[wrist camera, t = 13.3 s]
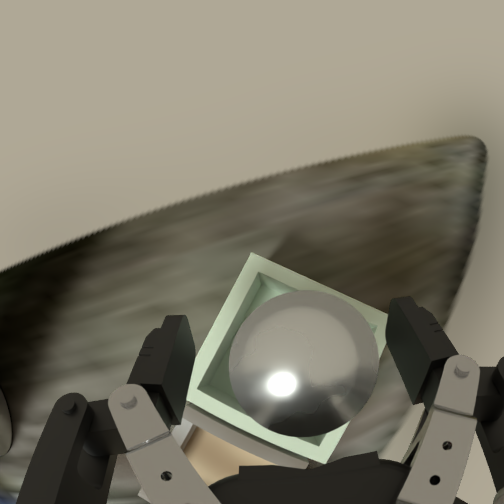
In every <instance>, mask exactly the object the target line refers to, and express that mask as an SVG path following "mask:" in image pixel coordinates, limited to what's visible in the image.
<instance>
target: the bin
mask: <svg viewBox="0 0 504 504" xmlns="http://www.w3.org/2000/svg"><path fill="white" fill-rule="evenodd" d="M300 290H312V291H320V292H324V293H328V294H331V295H334V296H336V297H339V298H340V299H342V300H344V301H346V302H347V303H349V304H350V305H352V306H353V307H354V308H355V309H356V310H357V311H358V312H359V313H360V314H361V315H362V316H363V317H364V319H365V320H366V321H367V323H368V324H369V326H370V328H371V330H372V332H373V334H374V336H375V339H376V343H377V346H378V353H379V359H380V356H381V354H382V352H383V349H384V347H385V344H386V338H385V329H386V324H387V318H388V314H386V313H384V312H382V311H380V310H377V309H375V308H373V307H371V306H369V305H366V304H364V303H362V302H360V301H358V300H355V299H353V298H351V297H349V296H347V295H344V294H342V293H340V292H338V291H336V290H333V289H331V288H329V287H327V286H325V285H322V284H320V283H318V282H316V281H314V280H311V279H309V278H307V277H305V276H303V275H300V274H298V273H296V272H294V271H292V270H289V269H287V268H285V267H283V266H281V265H278V264H276V263H274V262H272V261H270V260H267V259H265V258H263V257H261V256H259V255H256V254H254V253H251V254H250V256H249V258H248V260H247V262H246V264H245V266H244V268H243V270H242V271H241V273H240V275H239V277H238V279H237V281H236V283H235V285H234V287H233V288H232V290H231V292H230V294H229V296H228V298H227V300H226V302H225V304H224V305H223V307H222V309H221V311H220V313H219V315H218V317H217V319H216V321H215V322H214V324H213V326H212V328H211V330H210V332H209V334H208V336H207V338H206V339H205V341H204V343H203V345H202V347H201V349H200V351H199V353H198V355H197V356H196V358H195V362H194V366H193V371H192V375H191V380H190V384H189V389H188V394H187V398H186V400H188V401H190V402H192V403H193V404H195V405H197V406H199V407H200V408H202V409H204V410H206V411H208V412H209V413H211V414H213V415H215V416H217V417H219V418H221V419H223V420H225V421H226V422H228V423H230V424H232V425H234V426H236V427H238V428H240V429H242V430H245V431H247V432H249V433H251V434H253V435H255V436H257V437H259V438H262V439H264V440H266V441H268V442H271V443H273V444H275V445H277V446H280V447H282V448H285V449H287V450H289V451H292V452H294V453H297V454H299V455H302V456H305V457H307V458H310V459H313V460H315V461H318V462H321V463H324V464H326V462H327V460H328V459H329V457H330V455H331V454H332V452H333V450H334V449H335V447H336V445H337V443H338V442H339V440H340V438H341V436H342V434H343V433H344V431H345V429H346V427H347V425H348V423H349V422H350V421H349V422H347V423H346V424H344V425H343V426H341V427H339V428H338V429H335V430H333V431H331V432H329V433H325V434H322V435H318V436H312V437H290V436H285V435H281V434H278V433H275V432H272V431H270V430H268V429H266V428H264V427H263V426H261V425H260V424H258V423H257V422H255V421H254V420H253V419H252V418H251V417H250V416H249V415H248V414H247V413H246V412H245V411H244V409H243V408H242V407H241V405H240V404H239V402H238V400H237V398H236V396H235V394H234V392H233V389H232V386H231V382H230V376H229V356H230V350H231V347H232V343H233V340H234V338H235V336H236V334H237V331H238V330H239V328H240V327H241V325H242V323H243V322H244V321H245V320H246V318H247V317H248V316H249V315H250V314H251V313H252V312H253V311H254V310H255V309H256V308H258V307H259V306H260V305H262V304H263V303H264V302H266V301H268V300H270V299H271V298H274V297H276V296H279V295H281V294H284V293H288V292H293V291H300Z"/></svg>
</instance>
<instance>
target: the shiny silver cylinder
mask: <svg viewBox="0 0 504 504" xmlns="http://www.w3.org/2000/svg"><path fill="white" fill-rule="evenodd" d="M378 370H379V353H378V346H377V343H376V339H375V336H374V334H373V332H372V330H371V328H370V326H369V324H368V323H367V321H366V320H365V319H364V317H363V316H362V315H361V314H360V313H359V312H358V311H357V310H356V309H355V308H354V307H353V306H352V305H350V304H349V303H347V302H346V301H344V300H342V299H340V298H339V297H336V296H334V295H331V294H328V293H324V292H320V291H312V290H300V291H293V292H288V293H284V294H281V295H279V296H276V297H274V298H271V299H270V300H268V301H266V302H264V303H263V304H262V305H260V306H259V307H258V308H256V309H255V310H254V311H253V312H252V313H251V314H250V315H249V316H248V317H247V318H246V320H245V321H244V322H243V323H242V325H241V327H240V328H239V330H238V331H237V334H236V336H235V338H234V340H233V343H232V347H231V350H230V356H229V376H230V382H231V386H232V389H233V392H234V394H235V396H236V398H237V400H238V402H239V404H240V405H241V407H242V408H243V409H244V411H245V412H246V413H247V414H248V415H249V416H250V417H251V418H252V419H253V420H254V421H255V422H257V423H258V424H260V425H261V426H263V427H264V428H266V429H268V430H270V431H272V432H275V433H278V434H281V435H285V436H290V437H312V436H318V435H322V434H325V433H329V432H331V431H333V430H335V429H338V428H339V427H341V426H343V425H344V424H346V423H347V422H349V421H350V420H351V419H352V418H353V417H355V416H356V415H357V414H358V412H359V411H360V410H361V409H362V408H363V407H364V405H365V404H366V403H367V401H368V399H369V397H370V396H371V394H372V392H373V389H374V387H375V384H376V380H377V376H378Z"/></svg>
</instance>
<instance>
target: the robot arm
mask: <svg viewBox="0 0 504 504" xmlns="http://www.w3.org/2000/svg"><path fill="white" fill-rule="evenodd" d="M385 338H386V343H387V345H388V348H389V350H390V352H391V354H392V356H393V359H394V361H395V363H396V366H397V368H398V370H399V372H400V375H401V377H402V379H403V382H404V384H405V387H406V389H407V391H408V394H409V396H410V399H411V401H412V404H413V405H415V404H419V403H424V406H425V409H424V411H423V413H422V416H421V418H420V421H419V423H418V426H417V429H416V431H415V434H414V436H413V438H412V441H411V443H410V446H409V448H408V450H407V452H406V454H405V456H404V457H403V459H402V461H401V463H399V462H396V461H392V460H385V459H379V458H378V454H377V451H375V452H370V453H365V454H360V455H354V456H349V457H344V458H341V459H339V460H336V461H333V462H331V463H328V464H325V465H322V466H320V467H317V468H314V469H300V468H292V467H285V466H278V465H252V466H239V474H235V475H231V476H228V477H225V478H223V479H220V480H218V481H216V482H215V483H213V484H211V485H210V486H207V485H206V483H205V482H204V481H203V479H202V478H201V477H200V475H199V474H198V473H197V471H196V470H195V468H194V467H193V466H192V464H191V463H190V461H189V460H188V458H187V457H186V455H185V454H184V452H183V451H182V449H181V448H180V446H179V445H178V443H177V442H176V440H175V439H174V437H173V436H172V434H171V433H170V432H169V431H170V427H171V425H181V422H182V417H183V412H184V408H185V403H186V398H187V394H188V389H189V384H190V380H191V375H192V371H193V366H194V362H195V345H194V341H193V337H192V334H191V330H190V326H189V322H188V319H187V317H186V315H167V316H166V317H165V319H164V322H163V324H162V327H161V328H155V329H154V330H153V331H152V332H151V333H150V334H149V335H148V336H147V337H146V338H145V341H144V343H143V345H142V348H141V350H140V352H139V356H138V357H137V360H136V362H135V364H134V367H133V369H132V372H131V374H130V377H129V379H128V382H127V384H126V385H123V386H120V387H118V388H117V389H115V390H114V391H113V392H112V394H111V395H110V397H109V399H105V400H99V401H92V402H87V400H86V399H85V397H84V396H83V395H81V394H79V393H69V394H66V395H64V396H62V397H61V398H59V399H58V400H57V402H56V403H55V405H54V407H53V409H52V412H51V414H50V416H49V418H48V421H47V423H46V425H45V427H44V430H43V432H42V435H41V437H40V439H39V442H38V444H37V447H36V449H35V452H34V454H33V457H32V459H31V462H30V464H29V467H28V470H27V473H26V475H25V478H24V481H23V484H22V487H21V490H20V493H19V496H18V499H17V502H16V504H106V503H107V498H108V493H109V489H110V485H111V480H112V476H113V472H114V467H115V463H116V459H117V455H118V454H123V453H126V456H127V459H128V461H129V463H130V465H131V467H132V469H133V471H134V473H135V475H136V477H137V479H138V481H139V483H140V485H141V487H142V488H143V490H144V492H145V494H146V496H147V497H148V499H149V501H150V503H151V504H468V503H466V502H464V501H462V500H461V499H459V498H457V497H456V494H457V491H458V488H459V486H460V482H461V480H462V477H463V473H464V470H465V467H466V464H467V460H468V457H469V453H470V449H471V445H472V441H473V437H474V433H475V431H476V434H477V436H478V439H479V441H480V444H481V447H482V449H483V452H484V455H485V457H486V460H487V463H488V466H489V469H490V472H491V475H492V478H493V482H494V485H495V488H496V492H497V494H496V495H495V498H494V501H493V504H504V357H502V358H501V359H500V360H499V362H498V364H497V366H496V367H479V366H478V364H477V363H476V362H475V361H474V360H473V359H472V358H470V357H468V356H464V355H459V354H458V352H457V351H456V349H455V347H454V346H453V344H452V343H451V341H450V340H449V338H448V337H447V335H446V334H445V332H444V331H443V329H442V328H441V326H440V325H439V324H438V322H437V320H436V319H435V317H434V316H433V314H432V313H430V312H429V311H427V310H426V309H425V308H423V307H419V308H418V306H417V305H416V303H415V302H414V300H413V299H412V298H411V297H410V296H408V297H401V298H393V299H392V300H391V302H390V307H389V313H388V318H387V324H386V329H385ZM11 438H12V428H11V420H10V414H9V411H8V407H7V403H6V401H5V398H4V395H3V393H2V391H1V389H0V456H3V455H5V454H6V453H7V452H8V450H9V448H10V445H11Z"/></svg>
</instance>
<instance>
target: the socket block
mask: <svg viewBox="0 0 504 504" xmlns="http://www.w3.org/2000/svg"><path fill="white" fill-rule="evenodd" d="M171 434H172V436H173V437H174V439H175V440H176V442H177V443H178V445H179V446H180V448H181V449H182V451H183V452H184V454H185V455H186V457H187V458H188V460H189V461H190V463H191V464H192V466H193V467H194V468H195V470H196V471H197V473H198V474H199V475H200V477H201V478H202V479H203V481H204V482H205V483H206V485H207V486H210V485H211V484H213V483H215V482H216V481H218V480H220V479H223V478H225V477H228V476H231V475H235V474H239V466H252V465H278V466H285V467H292V468H300V469H306V467H307V466H308V464H309V462H308V458H307V457H305V456H302V455H299V454H297V453H294V452H292V451H289V450H287V449H285V448H282V447H280V446H277V445H275V444H273V443H271V442H268V441H266V440H264V439H262V438H259V437H257V436H255V435H253V434H251V433H249V432H247V431H245V430H242V429H240V428H238V427H236V426H234V425H232V424H230V423H228V422H226V421H225V420H223V419H221V418H219V417H217V416H215V415H213V414H211V413H209V412H208V411H206V410H204V409H202V408H200V407H199V406H197V405H195V404H193V403H190V404H188V405H187V406H186V407H185V409H184V412H183V417H182V422H181V425H176V426H175V428H174V430H173V431H172V433H171ZM138 495H139V496H140V497H142V498H143V499H145V500H147V501H148V502H150V501H149V499H148V497H147V496H146V494H145V492H144V490H143V488H141V490H140V491H139V493H138Z"/></svg>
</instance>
